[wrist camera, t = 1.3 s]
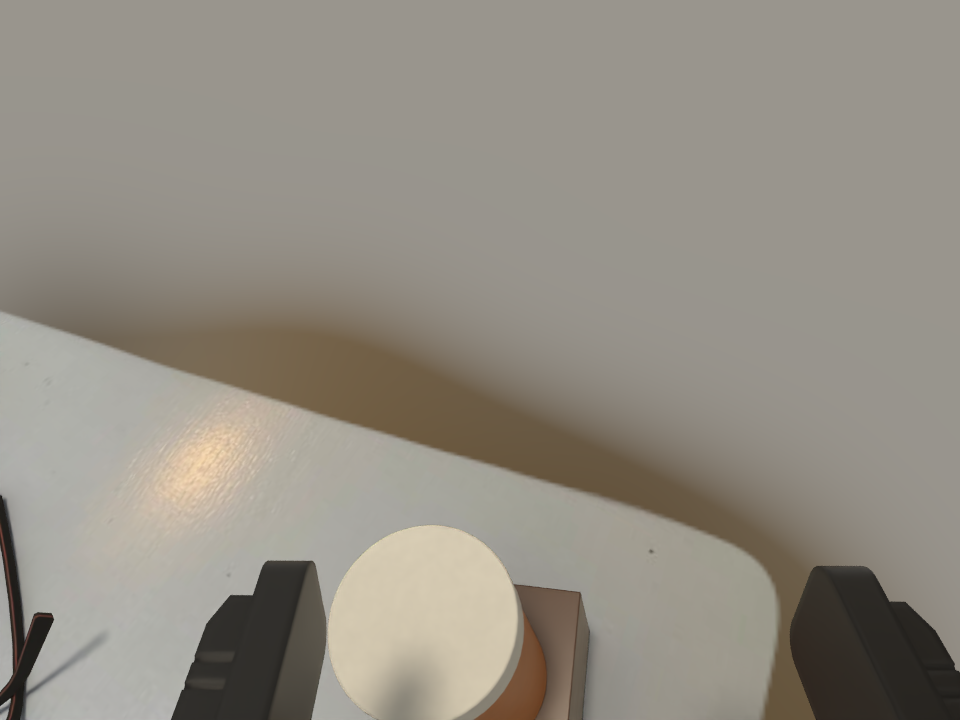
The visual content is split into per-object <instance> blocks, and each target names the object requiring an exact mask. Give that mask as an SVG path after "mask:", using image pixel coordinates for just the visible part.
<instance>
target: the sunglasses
mask: <svg viewBox="0 0 960 720" xmlns="http://www.w3.org/2000/svg"><path fill="white" fill-rule="evenodd" d="M0 547H1V552H2V558H3V564H4V572H5V579H6V586H7V593H8V600H9V611H10V621H11V632H12V645H13V675H12V677H11V679H10V681H9V682H8V683H7V685H6V686H5V687H4V688H3V689H2V690H1V692H0V706H1V705H2V704H4V703H5V702H6V701H7V700H8V699H10V698H11V703H10V708H9V712H8V717H7V719H6V720H20V717H21V712H22V706H23V694H24V682H25V680H26V679H27V677H28V676H29V674H30V672H31V670H32V668H33V666H34V663H35V661H36V659H37V657H38V654H39V652H40V650H41V648H42V646H43V643H44V641H45V639H46V637H47V634H48V632H49V630H50V628H51V625H52V623H53V621H54V618H53V615H52V613H40V612H37V613H36V614H34V616H33V619H32V622H31V625H30V628H29V631H28V634H27V637H26V640H25V643H24V639H23V628H22V616H21V605H20V597H19V590H18V582H17V575H16V567H15V561H14V555H13V550H12V544H11V539H10V533H9V528H8V523H7V518H6V514H5V509H4V504H3V499H2V496H1V495H0Z"/></svg>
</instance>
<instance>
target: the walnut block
mask: <svg viewBox="0 0 960 720" xmlns="http://www.w3.org/2000/svg"><path fill="white" fill-rule="evenodd" d="M514 586H515V588H516V590H517V593H518V596H519V599H520V602H521V606H522V610H523V612H524V614H525V615H526V617H527V619H528V621H529V623H530V625H531V627H532V629H533V631H534V633H535V635H536V637H537V639H538V641H539V643H540V645H541V648H542V651H543V654H544V658H545V663H546V672H547V681H546V690H545V695H544V699H543V702H542V705H541V708H540V710H539V712H538V714H537V716H536V718H535V719H534V720H582V715H583V704H584V692H585V680H586V668H587V656H588V644H589V633H590V631H589V627H588V623H587V618H586V614H585V610H584V606H583V601H582V597H581V593H580V592H574V591H566V590H558V589H549V588H541V587H533V586H524V585H516V584H514Z"/></svg>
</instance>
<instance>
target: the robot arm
mask: <svg viewBox="0 0 960 720" xmlns="http://www.w3.org/2000/svg"><path fill="white" fill-rule="evenodd" d="M790 645H791V651H792V657H793V660H794V663H795V666H796V669H797V671H798V674H799V677H800V679H801V682H802V684H803V687H804V690H805V692H806V695H807V698H808V700H809V703H810V705H811V708H812V711H813V713H814V716H815V718H816V720H960V672H959V671H956V670H955V667H954V665H955V664H954V662H953V660H952V659H951V657H950V655H949V653H948V652H947V650H946V648H945V647H944V645H943V643H942V641H941V640H940V638H939V636H938V635H937V633H936V631H935V630H934V629H933V628H932V627H931V626H930V625H929V624H928V623H927V622H926V621H925V620H923V619H922V617H920V616H919V615H918V614H917V613H916V612H915V611H914V610H913V609H912V608H911V607H910V606H909V605H908V604H907V603H906V602H889V600H888V598H887V596H886V594H885V593H884V591H883V589H882V587H881V585H880V583H879V582H878V580H877V578H876V576H875V575H874V574H873V572H872V571H871V570H870V569H869V568H867V567H864V566H816V567H814V568H813V570H812V571H811V573H810V576H809V578H808V581H807V583H806V586H805V589H804V591H803V594H802V597H801V599H800V602H799V604H798V607H797V610H796V612H795V615H794V617H793V620H792V623H791V628H790ZM325 646H326V617H325V612H324V606H323V601H322V596H321V591H320V586H319V581H318V575H317V570H316V566H315V563H314V562H313V561H267V562H265V564H264V565H263V567H262V569H261V572H260V575H259V578H258V581H257V584H256V588H255V591H254V594H253V595H230V596H229V597H228V599H227V600H226V601H225V602H224V603H223V605H222V606H221V607H220V608H219V609H218V611H217V612H216V613H215V614H214V615H213V617H212V618H211V619H210V620H209V621H208V623H207V624H206V627H205V630H204V632H203V635H202V638H201V640H200V643H199V646H198V648H197V651H196V654H195V661H194V663H192V665H191V667H190V670H189V673H188V675H187V678H186V681H185V688H184V690H182V691H181V694H180V697H179V700H178V702H177V705H176V708H175V710H174V713H173V716H172V718H171V720H311V718H312V713H313V708H314V703H315V698H316V694H317V689H318V684H319V679H320V674H321V669H322V665H323V660H324V654H325Z"/></svg>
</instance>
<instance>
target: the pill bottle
mask: <svg viewBox="0 0 960 720" xmlns="http://www.w3.org/2000/svg"><path fill="white" fill-rule="evenodd" d="M328 649H329V655H330V660H331V663H332V667H333V670H334V673H335V675H336V677H337V679H338V681H339V683H340V685H341V687H342V688H343V690H344V691H345V693H346V694H347V695H348V697H349V698H350V699H351V700H352V701H353V702H354V704H356V705H357V706H358V707H359V708H360V709H361V710H363V711H364V712H365V713H367V714H368V715H370V716H371V717H373V718H375V719H377V720H534V719H535V718H536V716H537V714H538V712H539V710H540V708H541V705H542V702H543V699H544V695H545V690H546V681H547V672H546V663H545V658H544V654H543V651H542V648H541V645H540V643H539V641H538V639H537V637H536V635H535V633H534V631H533V629H532V627H531V625H530V623H529V621H528V619H527V617H526V615H525V614H524V612H523V610H522V606H521V602H520V599H519V596H518V593H517V590H516V588H515V586H514V584H513V582H512V580H511V578H510V576H509V574H508V572H507V570H506V568H505V566H504V565H503V563H502V562H501V560H500V559H499V558H498V557H497V555H496V554H495V553H494V552H493V551H492V550H491V549H490V548H489V547H488V546H487V545H486V544H484V543H483V542H482V541H480V540H479V539H477V538H476V537H474V536H473V535H470V534H468V533H466V532H464V531H462V530H458V529H455V528H452V527H446V526H441V525H424V526H415V527H411V528H406V529H403V530H400V531H398V532H395V533H393V534H391V535H389V536H387V537H385V538H383V539H381V540H380V541H378V542H377V543H375V544H374V545H372V546H371V547H370V548H369V549H367V550H366V551H365V552H364V553H363V554H362V555H361V556H360V557H359V558H358V559H357V560H356V561H355V562H354V564H353V565H352V566H351V568H350V569H349V570H348V571H347V573H346V575H345V576H344V578H343V580H342V581H341V583H340V585H339V588H338V590H337V592H336V594H335V597H334V600H333V603H332V606H331V611H330V616H329V622H328Z"/></svg>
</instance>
